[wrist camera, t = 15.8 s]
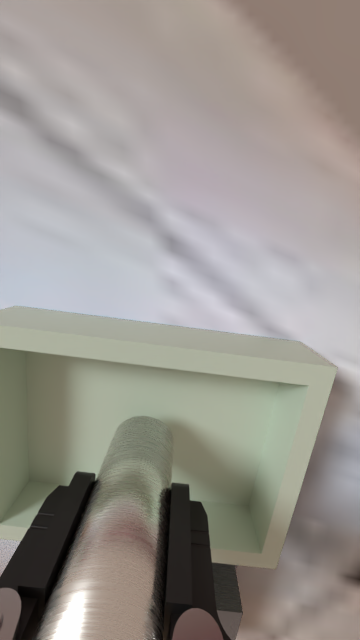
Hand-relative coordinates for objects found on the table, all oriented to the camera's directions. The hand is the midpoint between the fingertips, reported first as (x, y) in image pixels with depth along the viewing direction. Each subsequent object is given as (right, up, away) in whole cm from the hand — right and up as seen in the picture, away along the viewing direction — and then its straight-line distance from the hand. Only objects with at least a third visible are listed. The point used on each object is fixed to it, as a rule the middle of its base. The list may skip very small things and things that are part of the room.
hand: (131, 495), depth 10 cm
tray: (0, +1, +5) cm, 5 cm away
